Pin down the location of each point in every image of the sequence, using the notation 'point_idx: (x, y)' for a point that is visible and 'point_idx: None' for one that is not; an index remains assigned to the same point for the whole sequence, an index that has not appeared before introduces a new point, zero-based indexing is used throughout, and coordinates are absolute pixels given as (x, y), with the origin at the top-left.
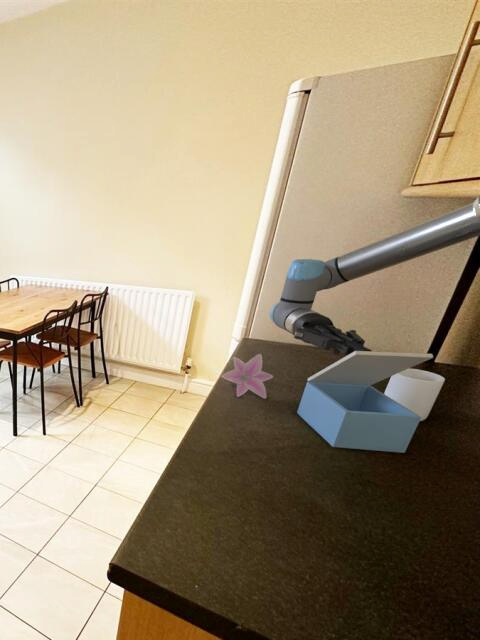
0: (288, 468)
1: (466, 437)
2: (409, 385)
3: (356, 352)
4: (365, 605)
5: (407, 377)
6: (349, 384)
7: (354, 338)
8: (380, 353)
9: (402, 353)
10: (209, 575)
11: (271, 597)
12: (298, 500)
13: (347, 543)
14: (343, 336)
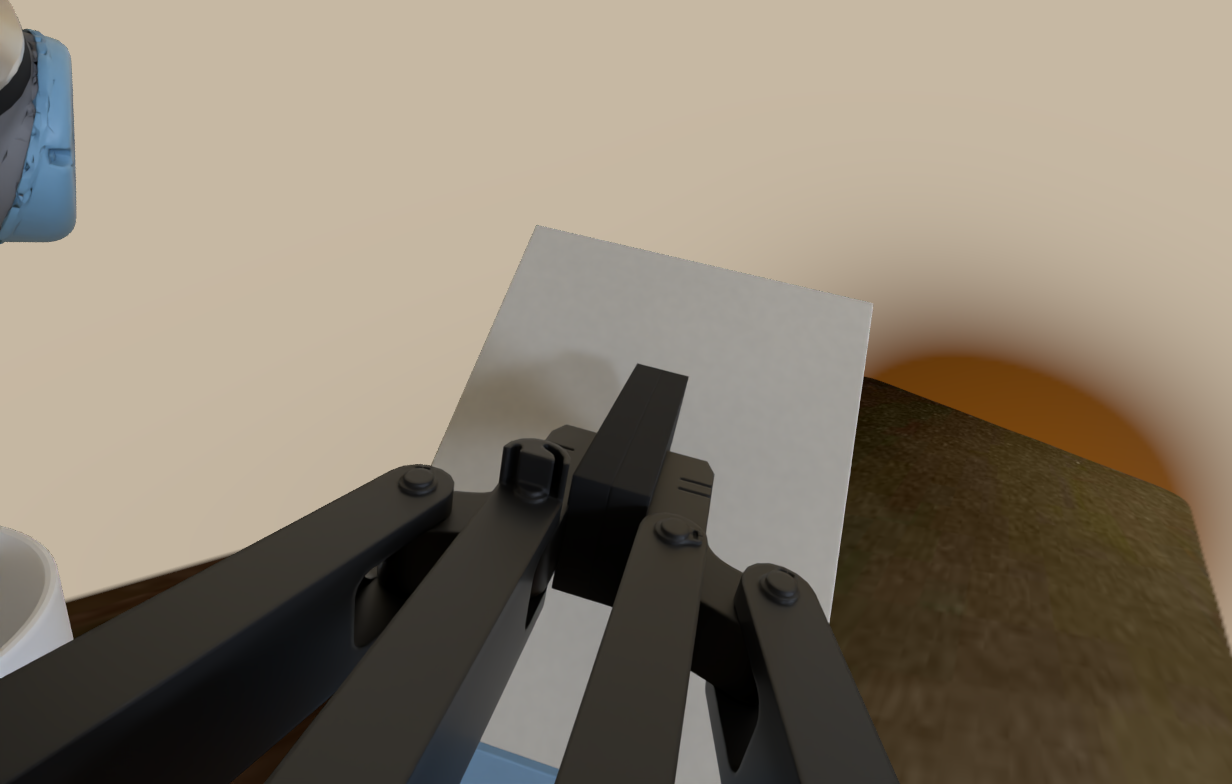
0: (919, 592)
1: (95, 602)
2: (65, 632)
3: (866, 307)
4: (890, 418)
5: (48, 607)
6: (480, 743)
7: (562, 452)
8: (756, 281)
9: (660, 256)
10: (1065, 467)
11: (991, 440)
12: (922, 519)
13: (872, 456)
14: (463, 638)
